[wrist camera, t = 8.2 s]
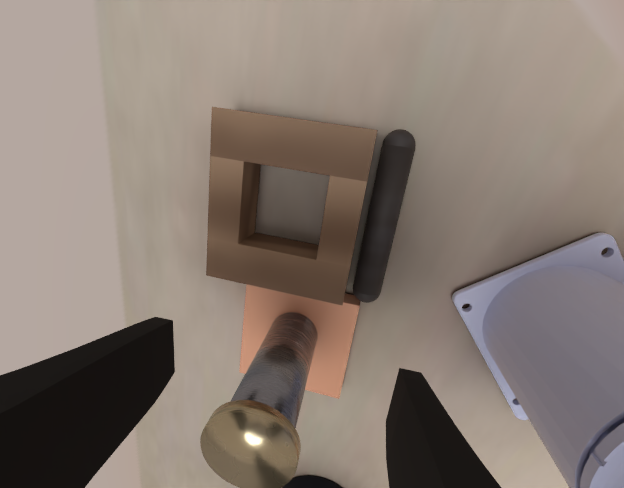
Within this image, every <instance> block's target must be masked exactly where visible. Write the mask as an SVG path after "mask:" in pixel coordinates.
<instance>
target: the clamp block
mask: <svg viewBox="0 0 624 488" xmlns="http://www.w3.org/2000/svg"><path fill="white" fill-rule="evenodd" d="M376 135H377V130H373V129H366V128H359V127H351V126H344V125H337V124H330V123H323V122H316V121H309V120H302V119H295V118H288V117H280V116H273V115H266V114H259V113H252V112H245V111H238V110H231V109H224V108H217V107H212V121H211V151H210V180H209V210H208V240H207V269H206V275H207V276H212V277H216V278H221V279H225V280H230V281H234V282H239V283H243V284H248V285H252V286H257V287H261V288H266V289H270V290H275V291H279V292H284V293H288V294H293V295H297V296H302V297H306V298H311V299H315V300H320V301H324V302H329V303H333V304H338V305H343V300H344V295H345V290H346V285H347V280H348V275H349V270H350V265H351V260H352V255H353V250H354V245H355V240H356V235H357V230H358V225H359V220H360V215H361V210H362V205H363V200H364V195H365V190H366V185H367V180H368V175H369V170H370V165H371V160H372V155H373V150H374V145H375V140H376ZM414 151H415V139H414V137H413V136H412V134H411V133H409V132H408V131H406V130H395V131H392V132H391V133H389V134H388V135H387V136H386V138H385V139H384V141H383V145H382V150H381V154H380V159H379V164H378V169H377V174H376V179H375V183H374V188H373V193H372V198H371V203H370V207H369V212H368V217H367V222H366V227H365V231H364V236H363V241H362V246H361V251H360V255H359V260H358V265H357V270H356V275H355V279H354V284H353V292H354V295H355V296H356V298H357V299H358V300H360V301H362V302H366V303H369V302H372V301H374V300H376V299H377V298H378V296H379V295H380V292H381V287H382V283H383V279H384V275H385V271H386V267H387V263H388V259H389V254H390V250H391V246H392V242H393V238H394V234H395V230H396V225H397V221H398V217H399V213H400V209H401V205H402V201H403V197H404V192H405V188H406V184H407V180H408V176H409V172H410V168H411V164H412V159H413V155H414ZM261 164H263V165H269V166H275V167H281V168H287V169H293V170H299V171H305V172H311V173H317V174H323V175H329V176H330V178H329V184H328V191H327V197H326V203H325V209H324V216H323V222H322V228H321V234H320V241H319V245H316V244H310V243H305V242H300V241H295V240H290V239H285V238H280V237H275V236H270V235H265V234H260V233H255V224H256V213H257V201H258V189H259V178H260V166H261Z"/></svg>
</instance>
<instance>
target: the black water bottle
mask: <svg viewBox="0 0 624 488" xmlns="http://www.w3.org/2000/svg"><path fill="white" fill-rule="evenodd" d="M282 488H341V487H340V486H338V485H337V484H335V483H334V482H332V481H329V480H327V479H324V478H321V477H315V476H300V477H296V478H294V479H291V480H290V481H289V482H288V483H287V484H286V485H284V486H283V487H282Z"/></svg>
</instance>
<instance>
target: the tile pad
mask: <svg viewBox="0 0 624 488" xmlns="http://www.w3.org/2000/svg"><path fill="white" fill-rule="evenodd" d="M359 307H360V300H358V299H357V298H356V296H355V295H350V294H345V295H344V300H343V305H338V304H333V303H329V302H324V301H320V300H315V299H311V298H306V297H302V296H297V295H293V294H288V293H284V292H279V291H275V290H270V289H266V288H261V287H257V286H252V285H248V284H247V286H246V298H245V310H244V323H243V335H242V347H241V359H240V372H241V373H244V374H246V372H247V370H248V368H249V366H250V364H251V363H252V361H253V359H254V357H255V355H256V353H257V351H258V349H259V348H260V346H261V344H262V342H263V340H264V338H265V336H266V335H267V333H268V331H269V329H270V327H271V325H272V323H273V322H274V320H275V319H276V318H277V317H278V316H280V315H281V314H284V313H288V312H295V313H300V314H302V315H304V316H306V317H308V318H309V319H310V320H311V321H312V322H313V324H314V325H315V327H316V329H317V334H318V337H317V342H316V346H315V350H314V354H313V359H312V363H311V367H310V371H309V375H308V379H307V383H306V387H305V390H308V391H312V392H316V393H320V394H323V395H327V396H331V397H335V398H338V399H339V397H340V393H341V388H342V384H343V379H344V375H345V370H346V366H347V361H348V357H349V352H350V348H351V343H352V338H353V334H354V329H355V325H356V320H357V316H358V311H359Z"/></svg>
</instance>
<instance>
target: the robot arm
mask: <svg viewBox="0 0 624 488" xmlns="http://www.w3.org/2000/svg"><path fill="white" fill-rule="evenodd" d="M605 248H608V251H607V253H605V254H604V255H601V252H602V250H603V249H605ZM452 300H453V303H454V304H455V306H456V308H457V310H458V312H459V314H460V315H461V317H462V319H463V321H464V323H465V325H466V326H467V328H468V330H469V332H470V334H471V336H472V337H473V339H474V341H475V343H476V345H477V347H478V348H479V350H480V352H481V354H482V356H483V358H484V359H485V361H486V363H487V365H488V367H489V369H490V370H491V372H492V374H493V376H494V378H495V380H496V382H497V383H498V385H499V387H500V389H501V391H502V393H503V394H504V396H505V398H506V400H507V402H508V404H509V405H510V407H511V409H512V411H513V413H514V415H515V416H516V417H517V418H518V419H521V420H528V419H529V420H530V422H531V424H532V425H533V427H534V429H535V430H536V432H537V434H538V435H539V437H540V439H541V440H542V442H543V444H544V445H545V447H546V449H547V450H548V452H549V454H550V455H551V457H552V459H553V460H554V462H555V464H556V465H557V467H558V469H559V470H560V472H561V474H562V476H563V477H564V479H565V481H566V482H567V484H568V486H569V487H570V488H624V260H623V257H622V255H621V253H620V250H619V248H618V245H617V243H616V241H615V239H614V237H613V236H611V235H609V234H606V233H596V234H593V235H591V236H588V237H586V238H583V239H581V240H579V241H576V242H574V243H571V244H569V245H566V246H564V247H562V248H559V249H557V250H554V251H552V252H550V253H547V254H545V255H542V256H540V257H537V258H535V259H533V260H530V261H528V262H525V263H523V264H521V265H518V266H516V267H513V268H511V269H509V270H506V271H504V272H501V273H499V274H496V275H494V276H492V277H489V278H487V279H484V280H482V281H480V282H477V283H475V284H472V285H470V286H468V287H465V288H463V289H460V290H458V291H456V292H455V293H454V294H453V296H452ZM467 303H468V304H470V305H469V307H468V308H465V309H464V308H462V306H463V305H464V304H467ZM174 372H175V368H174V341H173V320H168V319H163V318H158V317H154V318H151V319H148V320H145V321H142V322H140V323H137V324H134V325H132V326H129V327H127V328H124V329H122V330H120V331H117V332H115V333H112V334H110V335H107V336H105V337H102V338H100V339H97V340H95V341H92V342H90V343H88V344H85V345H83V346H80V347H78V348H75V349H72V350H70V351H67V352H64V353H62V354H59V355H56V356H54V357H51V358H48V359H46V360H43V361H40V362H38V363H35V364H32V365H30V366H27V367H24V368H21V369H18V370H15V371H12V372H10V373H6V374H3V375H0V488H85V486H86V485H87V484H88V483H89V481H90V480H91V479H92V477H93V476H94V475H95V474H96V473H97V471H98V470H99V469H100V468H101V467H102V466H103V464H104V463H105V462H106V461H107V460H108V458H109V457H110V456H111V455H112V454H113V452H114V451H115V450H116V449H117V448H118V446H119V445H120V444H121V443H122V442H123V440H124V439H125V438H126V437H127V436H128V434H129V433H130V432H131V431H132V430H133V428H134V427H135V426H136V425H137V424H138V422H139V421H140V420H141V419H142V418H143V416H144V415H145V414H146V413H147V412H148V410H149V409H150V408H151V407H152V405H153V404H154V403H155V401H156V400H157V399H158V397H159V396H160V394H161V393H162V391H163V390H164V388H165V387H166V385H167V383H168V382H169V380H170V379H171V377H172V375H173V374H174ZM515 398H517V400H513V399H515ZM386 460H387V470H388V479H389V488H501V487H500V485H499V484H498V483H497V482H496V480H495V479H494V478H493V476H492V475H491V474H490V472H489V471H488V470H487V469H486V467H485V466H484V465H483V463H482V462H481V461H480V459H479V458H478V456H477V455H476V454H475V452H474V451H473V450H472V448H471V447H470V445H469V444H468V442H467V441H466V440H465V438H464V437H463V435H462V434H461V432H460V431H459V430H458V428H457V427H456V425H455V424H454V422H453V421H452V419H451V418H450V416H449V415H448V413H447V412H446V410H445V409H444V407H443V406H442V404H441V403H440V401H439V400H438V398H437V396H436V395H435V393H434V392H433V390H432V389H431V387H430V386H429V384H428V382H427V381H426V379H425V378H424V376H423V375H422V373H420V372H415V371H410V370H406V369H401V368H399V372H398V376H397V380H396V384H395V388H394V392H393V396H392V400H391V404H390V408H389V412H388V415H387V419H386Z"/></svg>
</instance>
